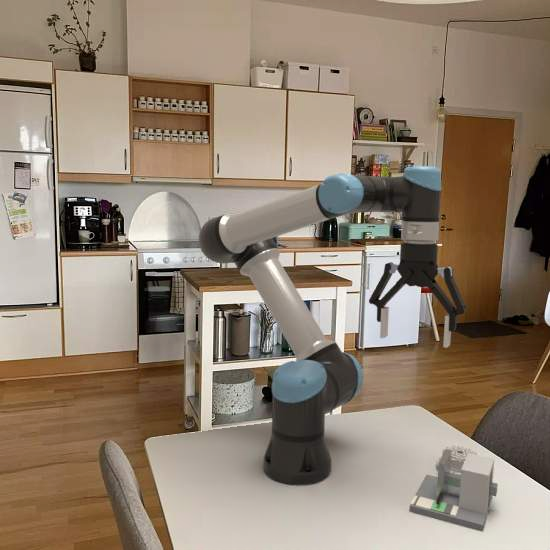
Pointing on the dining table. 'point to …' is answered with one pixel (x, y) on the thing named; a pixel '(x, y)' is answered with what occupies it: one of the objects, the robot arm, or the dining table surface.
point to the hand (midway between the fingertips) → (414, 341)
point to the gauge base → (459, 495)
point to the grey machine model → (452, 477)
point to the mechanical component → (456, 458)
